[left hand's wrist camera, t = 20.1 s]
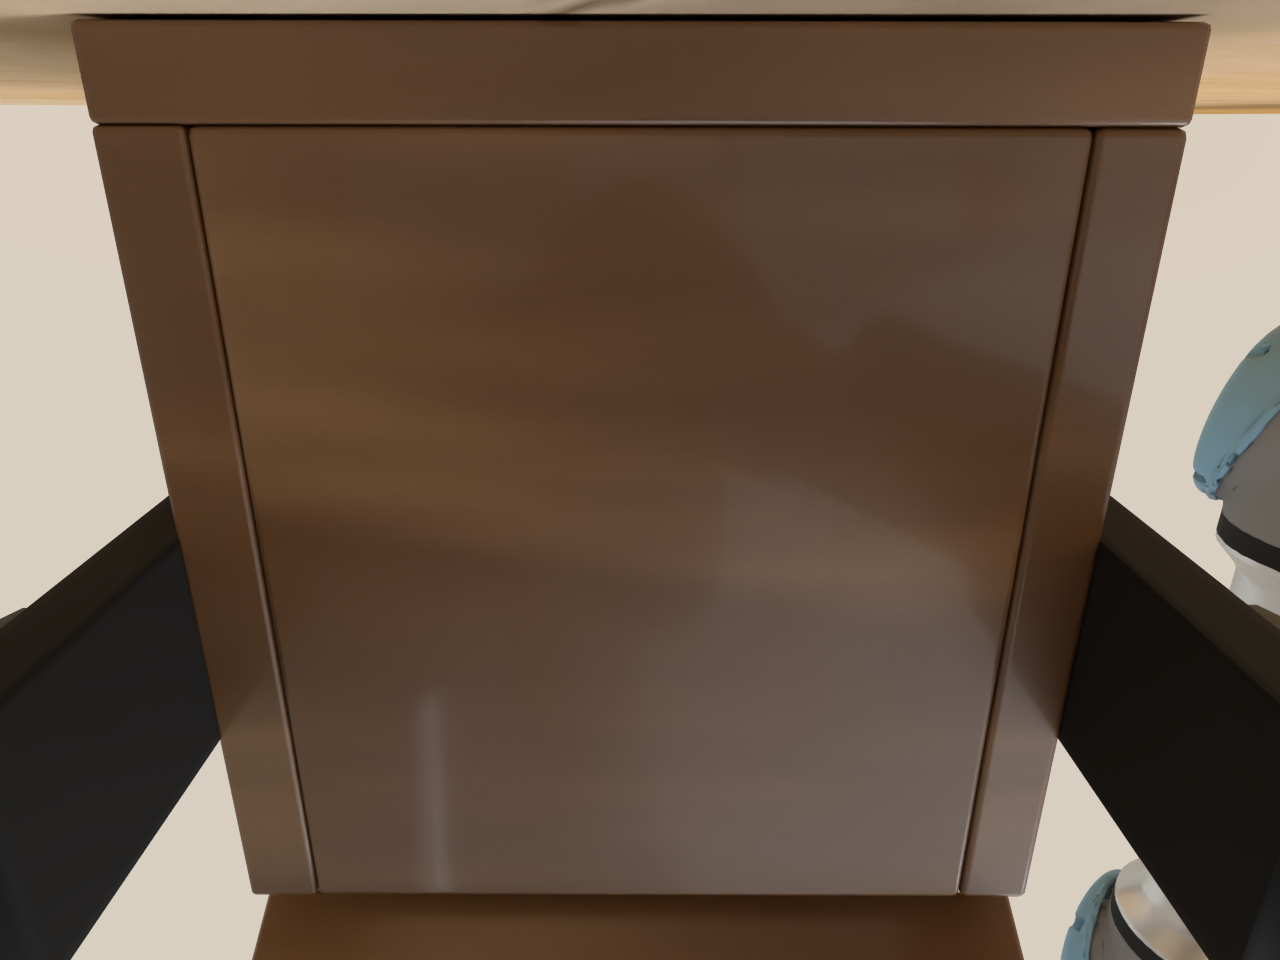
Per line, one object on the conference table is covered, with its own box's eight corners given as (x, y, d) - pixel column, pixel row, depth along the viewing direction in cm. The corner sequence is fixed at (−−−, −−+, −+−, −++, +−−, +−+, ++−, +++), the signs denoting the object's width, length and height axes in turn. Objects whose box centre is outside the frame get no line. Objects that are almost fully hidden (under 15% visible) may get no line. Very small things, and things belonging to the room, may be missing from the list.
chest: (862, 86, 21) (826, 497, 25) (422, 85, 21) (454, 496, 25) (1217, 21, 8) (1026, 899, 12) (66, 17, 8) (250, 896, 12)
